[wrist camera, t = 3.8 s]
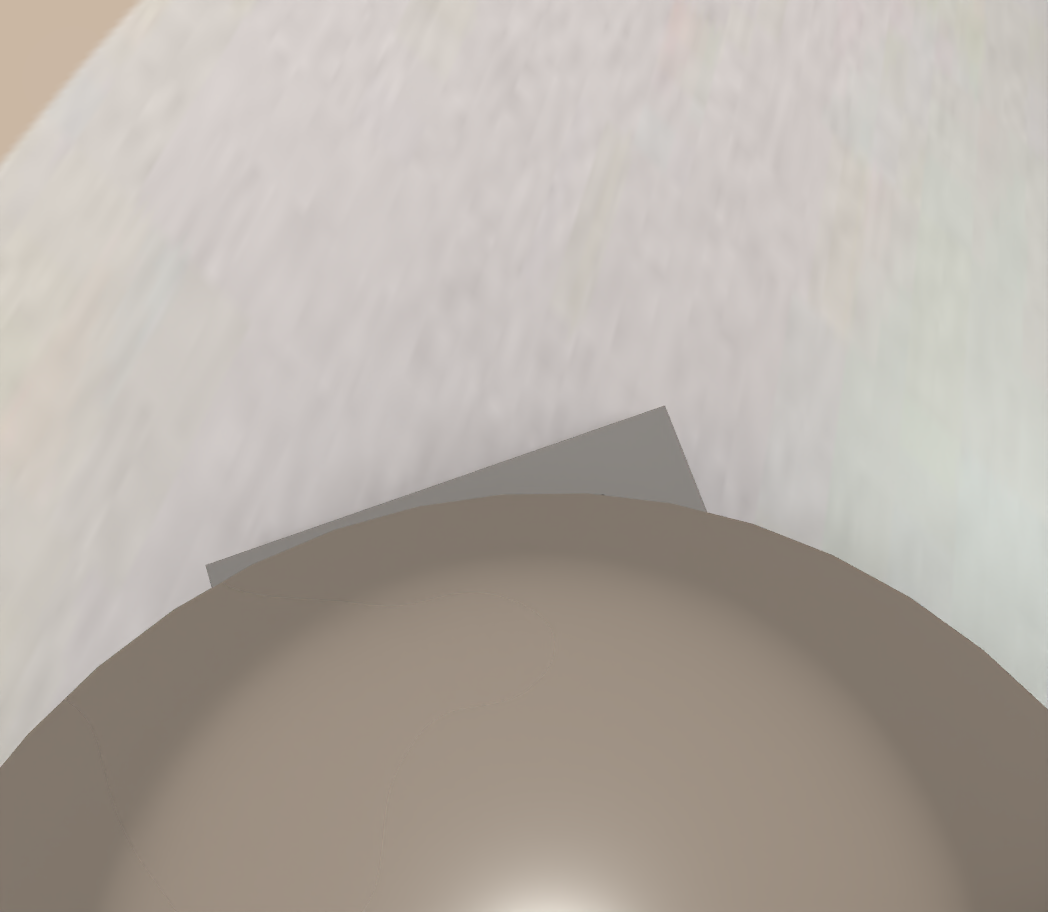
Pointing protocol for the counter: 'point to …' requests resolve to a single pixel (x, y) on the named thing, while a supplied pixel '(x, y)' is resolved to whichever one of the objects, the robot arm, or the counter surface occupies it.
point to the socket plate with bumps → (540, 480)
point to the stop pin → (537, 733)
